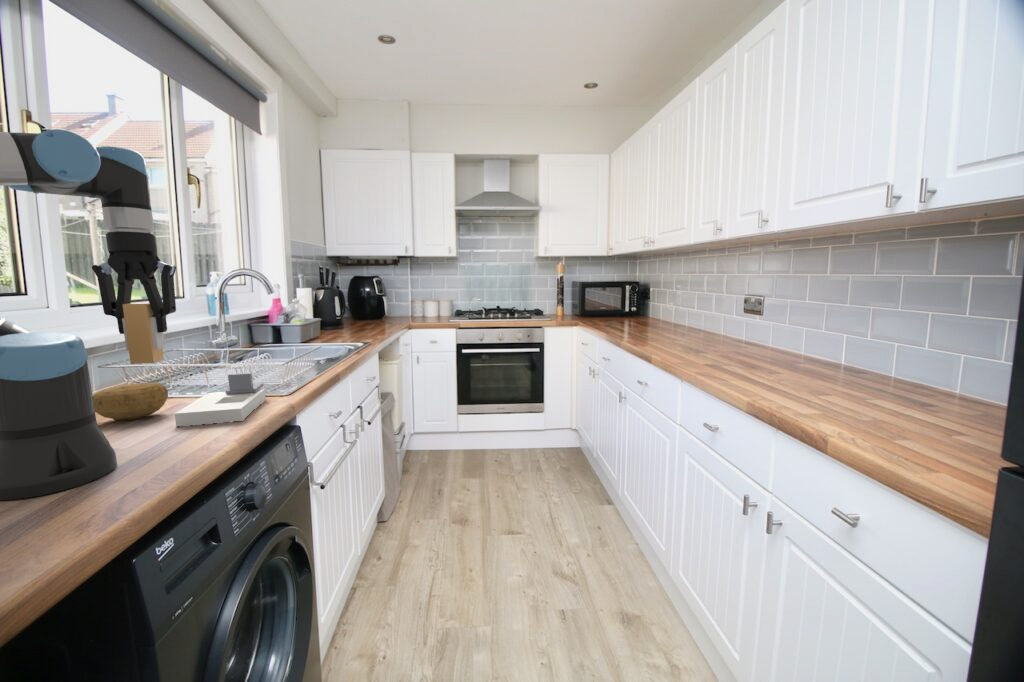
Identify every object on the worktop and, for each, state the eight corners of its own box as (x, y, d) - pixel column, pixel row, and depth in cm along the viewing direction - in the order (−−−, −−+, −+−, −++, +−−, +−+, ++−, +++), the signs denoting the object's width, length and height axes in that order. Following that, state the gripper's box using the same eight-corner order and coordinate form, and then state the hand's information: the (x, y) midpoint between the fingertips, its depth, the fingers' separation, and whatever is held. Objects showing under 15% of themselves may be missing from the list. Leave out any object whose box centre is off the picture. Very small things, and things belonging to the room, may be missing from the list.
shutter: (255, 392, 114) (253, 373, 113) (225, 394, 112) (223, 375, 112) (263, 385, 121) (261, 368, 120) (235, 387, 119) (233, 370, 118)
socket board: (242, 421, 101) (240, 408, 100) (176, 426, 98) (174, 413, 97) (265, 400, 118) (264, 389, 118) (210, 404, 115) (208, 392, 115)
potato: (99, 418, 105) (94, 384, 104) (173, 408, 112) (169, 377, 111) (86, 430, 97) (80, 394, 96) (167, 418, 104) (162, 385, 102)
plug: (153, 362, 91) (146, 303, 89) (130, 364, 90) (122, 304, 88) (163, 359, 94) (156, 302, 93) (141, 360, 94) (134, 303, 92)
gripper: (188, 234, 94) (201, 344, 97) (91, 233, 90) (108, 348, 93) (170, 230, 87) (185, 349, 90) (64, 229, 83) (83, 354, 86)
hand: (145, 348), depth 92 cm, fingers closed on plug, 4 cm apart
